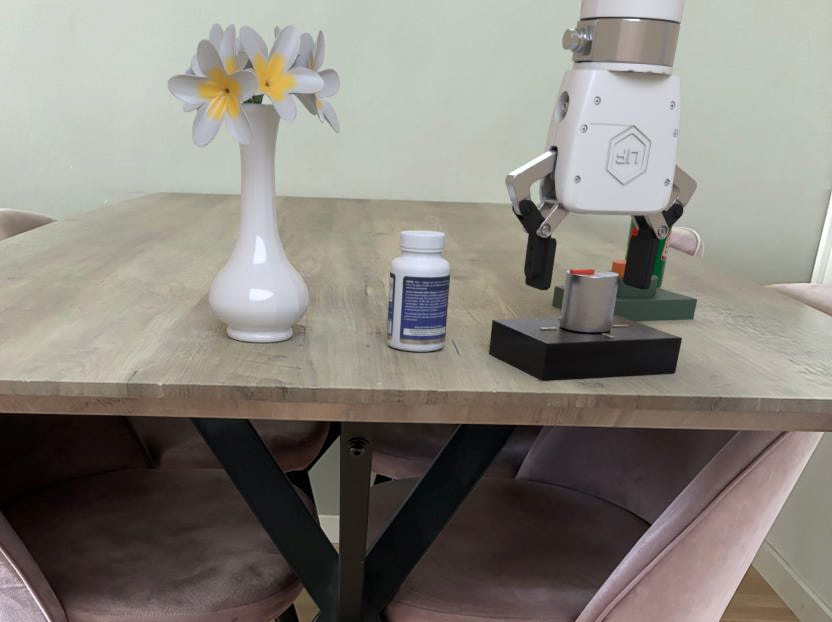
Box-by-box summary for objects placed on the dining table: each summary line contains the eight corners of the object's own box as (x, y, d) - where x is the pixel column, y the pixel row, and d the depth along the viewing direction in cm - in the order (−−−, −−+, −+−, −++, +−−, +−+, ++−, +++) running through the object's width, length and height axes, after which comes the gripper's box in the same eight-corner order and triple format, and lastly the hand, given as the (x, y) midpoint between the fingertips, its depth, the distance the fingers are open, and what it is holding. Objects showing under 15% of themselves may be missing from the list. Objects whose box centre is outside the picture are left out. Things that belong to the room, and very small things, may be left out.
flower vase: (167, 355, 81) (146, 6, 69) (217, 315, 97) (207, 26, 85) (318, 364, 80) (324, 11, 68) (343, 322, 96) (351, 30, 84)
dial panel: (611, 348, 90) (617, 313, 89) (675, 373, 82) (683, 335, 81) (488, 353, 86) (492, 317, 85) (542, 380, 78) (547, 341, 77)
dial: (593, 322, 85) (602, 265, 83) (620, 332, 82) (630, 272, 79) (550, 323, 84) (557, 265, 82) (576, 333, 80) (584, 273, 78)
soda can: (665, 293, 120) (684, 188, 114) (625, 292, 120) (643, 186, 114) (654, 286, 124) (672, 185, 118) (615, 285, 124) (631, 184, 118)
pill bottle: (456, 348, 88) (466, 234, 83) (417, 355, 85) (425, 237, 80) (413, 337, 91) (420, 227, 87) (374, 344, 88) (379, 230, 83)
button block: (640, 303, 113) (647, 267, 111) (693, 319, 105) (701, 281, 103) (551, 306, 109) (556, 269, 107) (599, 323, 101) (605, 283, 99)
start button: (631, 276, 107) (634, 259, 106) (650, 281, 104) (653, 264, 103) (603, 276, 106) (606, 259, 105) (621, 281, 103) (624, 264, 102)
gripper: (549, 41, 67) (517, 296, 75) (749, 58, 72) (698, 294, 81) (501, 45, 73) (476, 280, 82) (688, 60, 79) (647, 279, 87)
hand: (587, 287), depth 81 cm, fingers open, 9 cm apart
